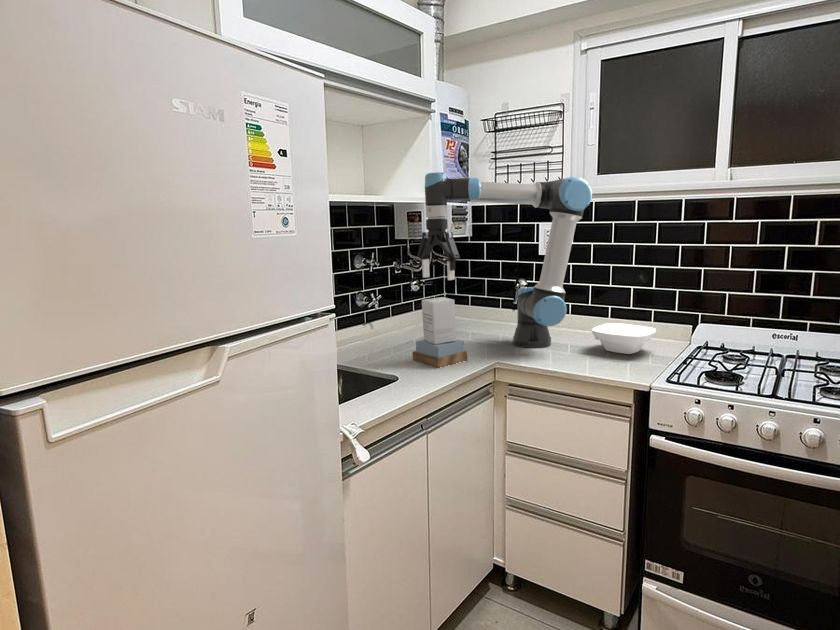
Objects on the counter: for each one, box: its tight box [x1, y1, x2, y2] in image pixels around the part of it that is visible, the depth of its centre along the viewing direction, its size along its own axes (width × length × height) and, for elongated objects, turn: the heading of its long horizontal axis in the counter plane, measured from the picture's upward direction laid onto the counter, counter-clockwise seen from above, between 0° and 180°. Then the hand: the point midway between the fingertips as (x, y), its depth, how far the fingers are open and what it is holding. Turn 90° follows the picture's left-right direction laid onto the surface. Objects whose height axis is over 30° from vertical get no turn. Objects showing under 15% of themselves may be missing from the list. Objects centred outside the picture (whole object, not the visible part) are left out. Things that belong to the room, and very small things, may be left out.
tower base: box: [412, 350, 468, 369], centre depth 192 cm, size 14×14×4 cm
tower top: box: [415, 338, 465, 358], centre depth 191 cm, size 12×12×4 cm
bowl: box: [591, 322, 657, 355], centre depth 199 cm, size 21×21×9 cm
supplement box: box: [421, 296, 457, 344], centre depth 190 cm, size 9×9×15 cm
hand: (438, 278), depth 191 cm, fingers open, 13 cm apart
